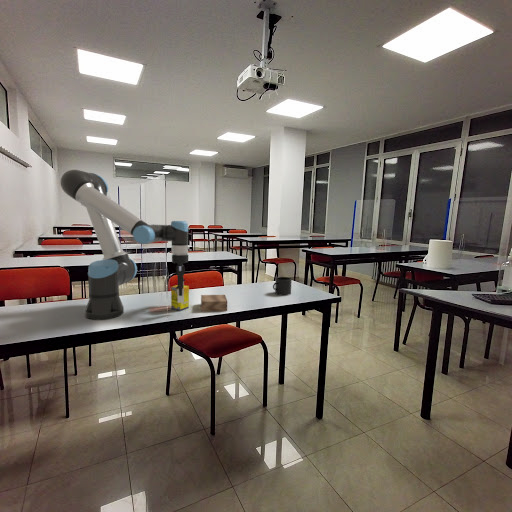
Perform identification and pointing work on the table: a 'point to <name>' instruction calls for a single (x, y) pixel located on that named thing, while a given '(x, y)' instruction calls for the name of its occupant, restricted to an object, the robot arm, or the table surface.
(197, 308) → the table surface
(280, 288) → the mug
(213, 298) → the walnut block
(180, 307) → the supplement box
